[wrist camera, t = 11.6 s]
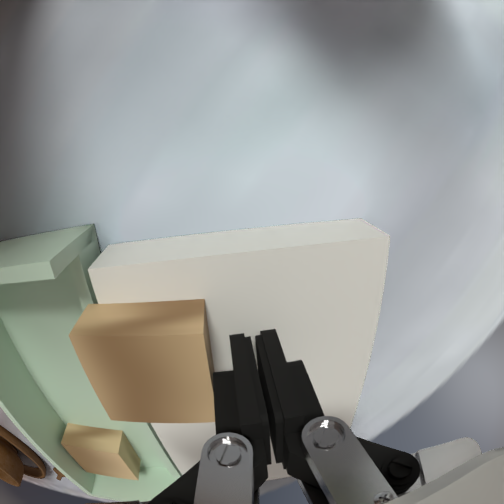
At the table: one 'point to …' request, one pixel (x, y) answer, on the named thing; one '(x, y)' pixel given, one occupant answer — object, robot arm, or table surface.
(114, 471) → the tile
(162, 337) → the tile
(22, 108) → the table surface
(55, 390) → the tray
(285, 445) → the robot arm
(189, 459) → the board
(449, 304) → the table surface
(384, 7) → the table surface
